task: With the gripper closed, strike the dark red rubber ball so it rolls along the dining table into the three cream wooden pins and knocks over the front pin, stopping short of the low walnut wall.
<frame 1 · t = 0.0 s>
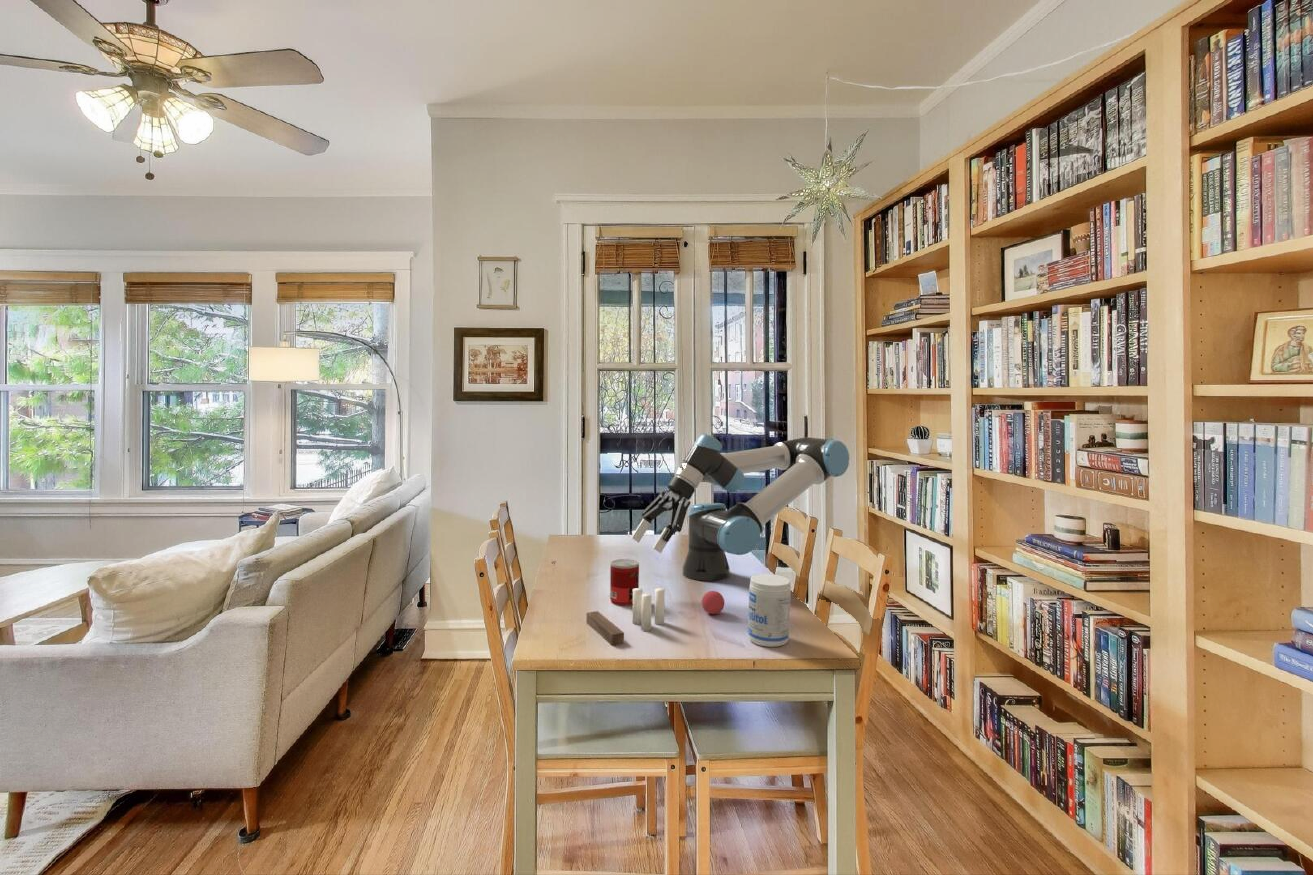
hand: (645, 545, 175), 15 cm above the table, tool tilted 35°, fingers open, 13 cm apart
back wall: (604, 632, 150), on the table
supplement tub: (768, 641, 147), on the table
front pin: (659, 622, 157), on the table
left rear pin: (646, 629, 153), on the table
right rear pin: (637, 622, 157), on the table
canned food: (624, 601, 173), on the table
ball: (713, 602, 164), on the table
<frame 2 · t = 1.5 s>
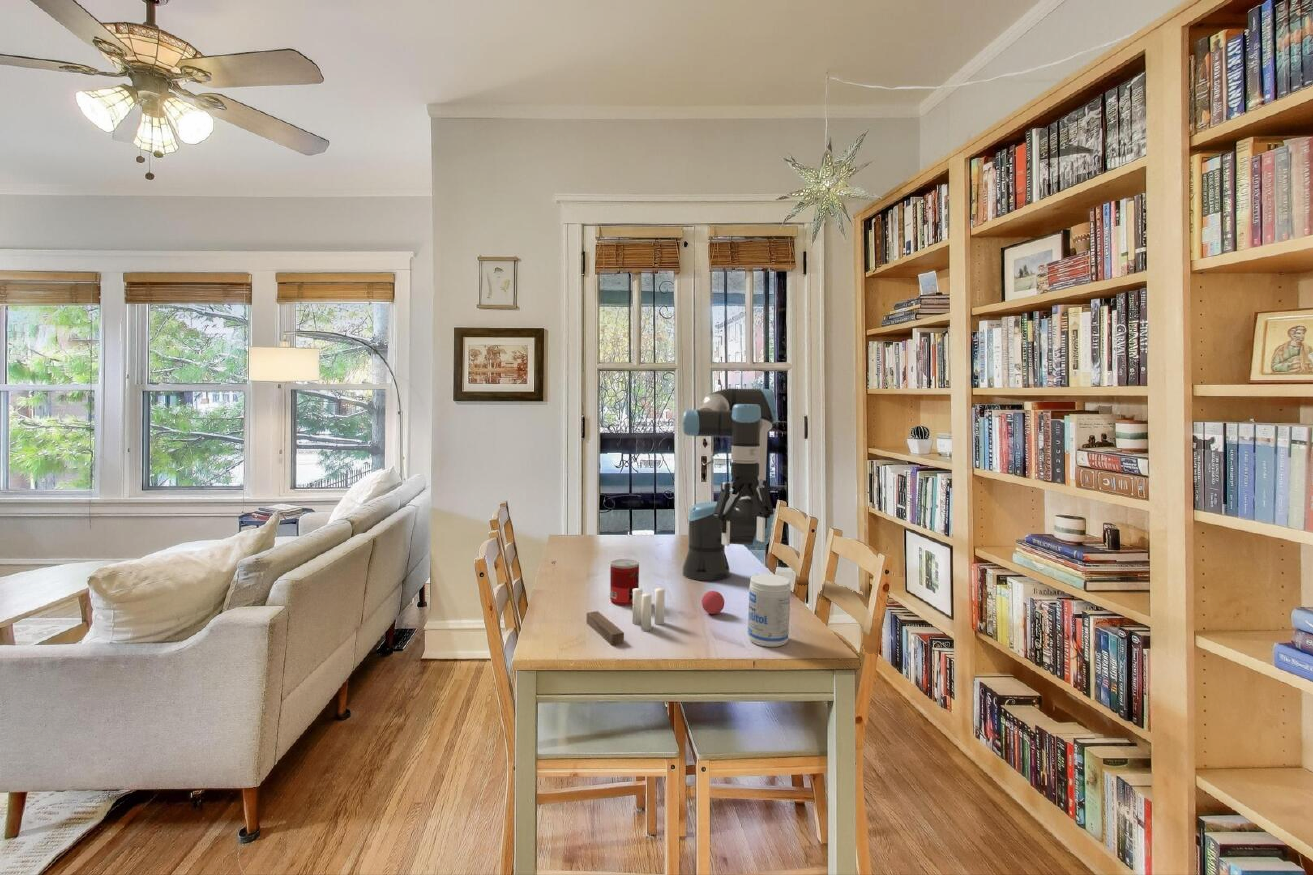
hand: (743, 542, 168), 18 cm above the table, tool pointing down, fingers open, 11 cm apart
nothing on the table moved.
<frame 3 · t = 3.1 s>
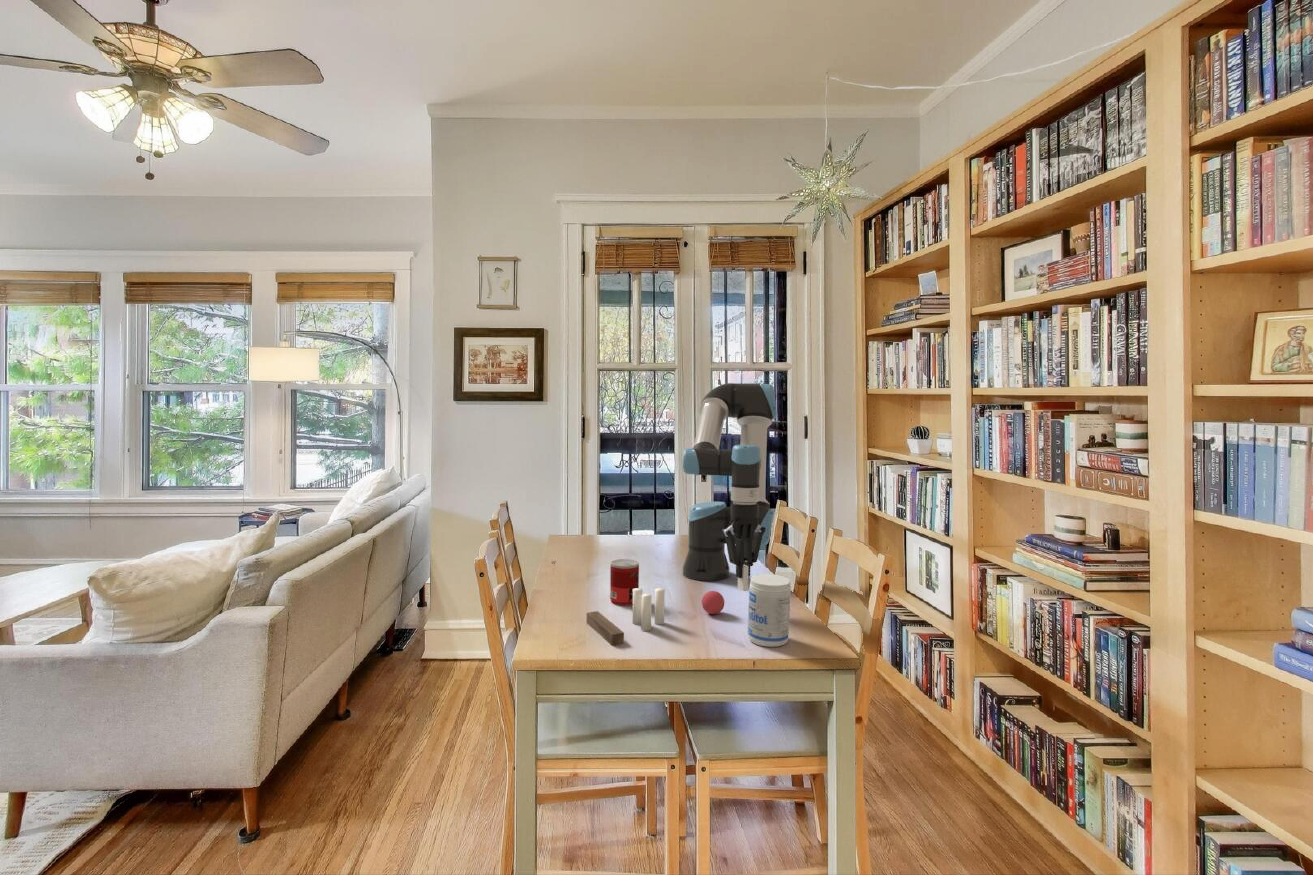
hand: (742, 589, 168), 5 cm above the table, tool pointing down, fingers closed
nothing on the table moved.
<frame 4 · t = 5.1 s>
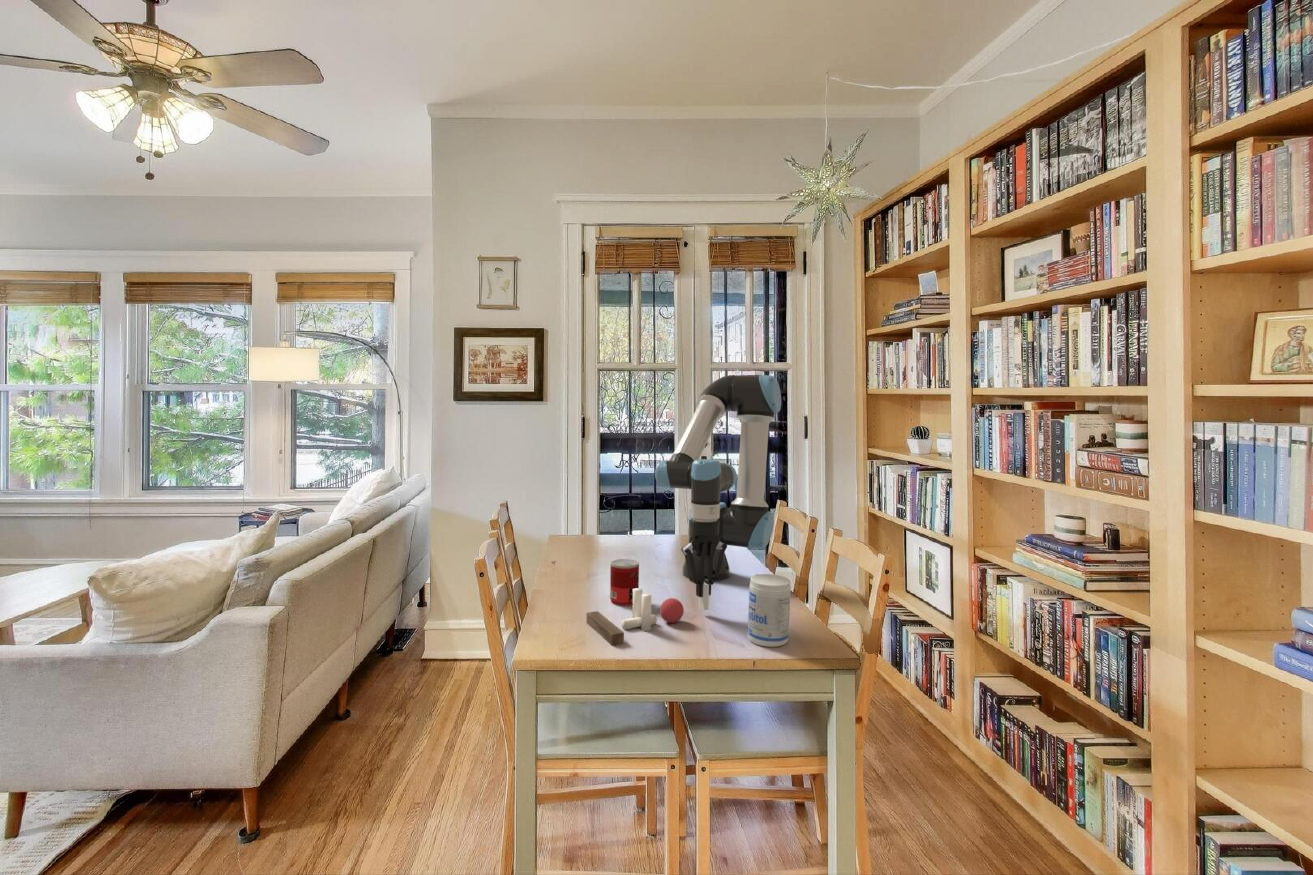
hand: (703, 608, 163), 2 cm above the table, tool pointing down, fingers closed
front pin: (654, 619, 156), point 1 cm above the table, tilted 90°
ball: (671, 610, 158), on the table
everything else where it was.
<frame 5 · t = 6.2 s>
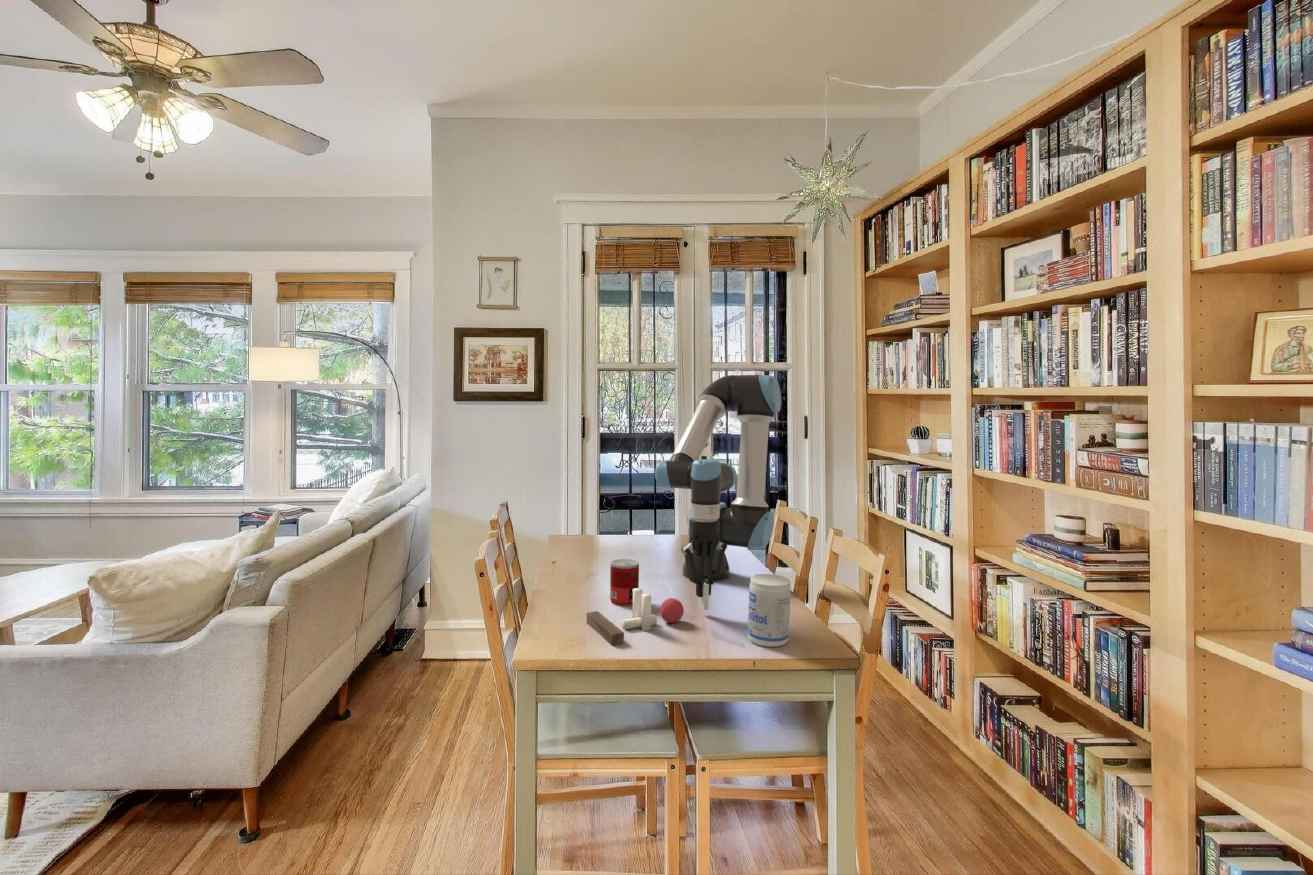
hand: (703, 608, 163), 2 cm above the table, tool pointing down, fingers closed
nothing on the table moved.
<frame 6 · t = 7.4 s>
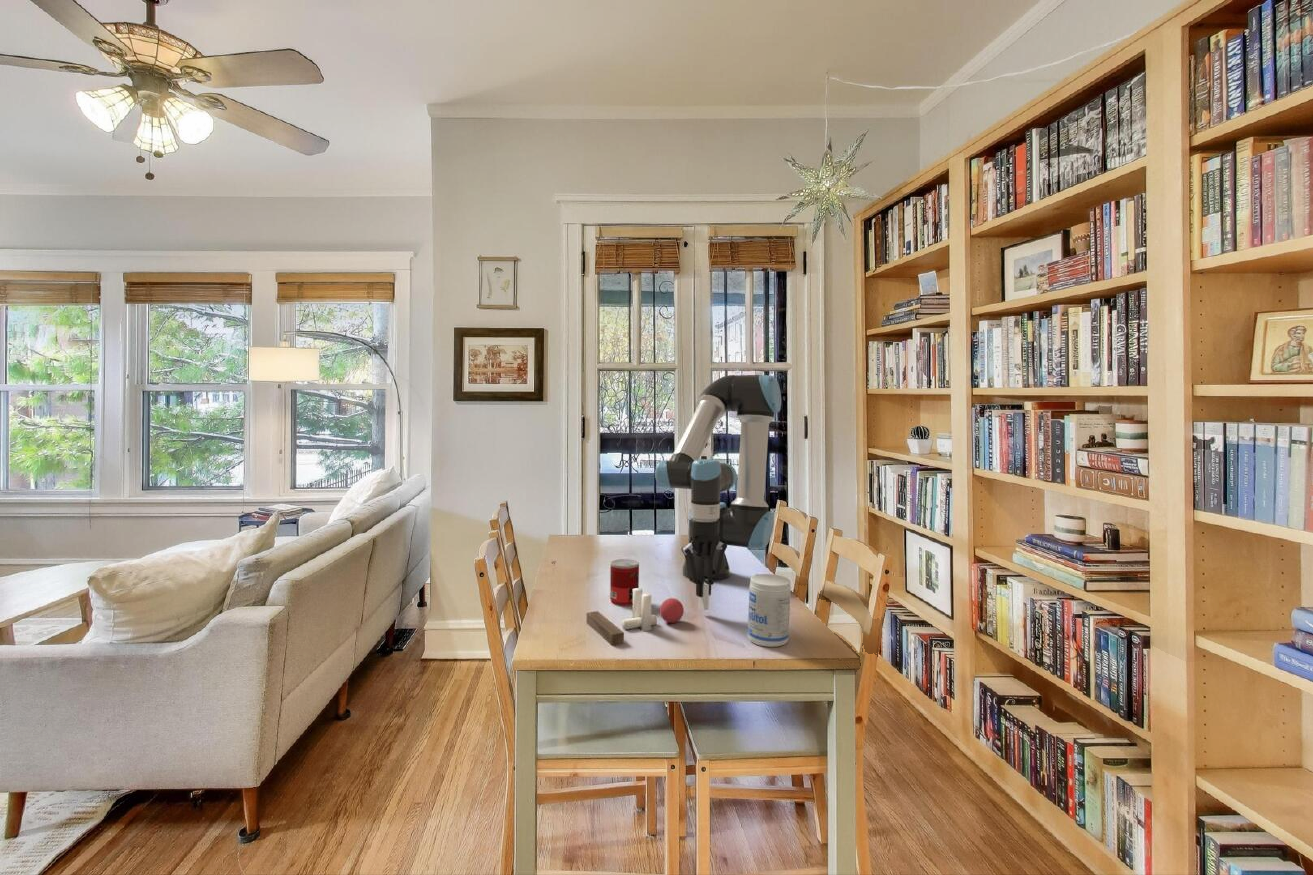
hand: (703, 608, 163), 2 cm above the table, tool pointing down, fingers closed
nothing on the table moved.
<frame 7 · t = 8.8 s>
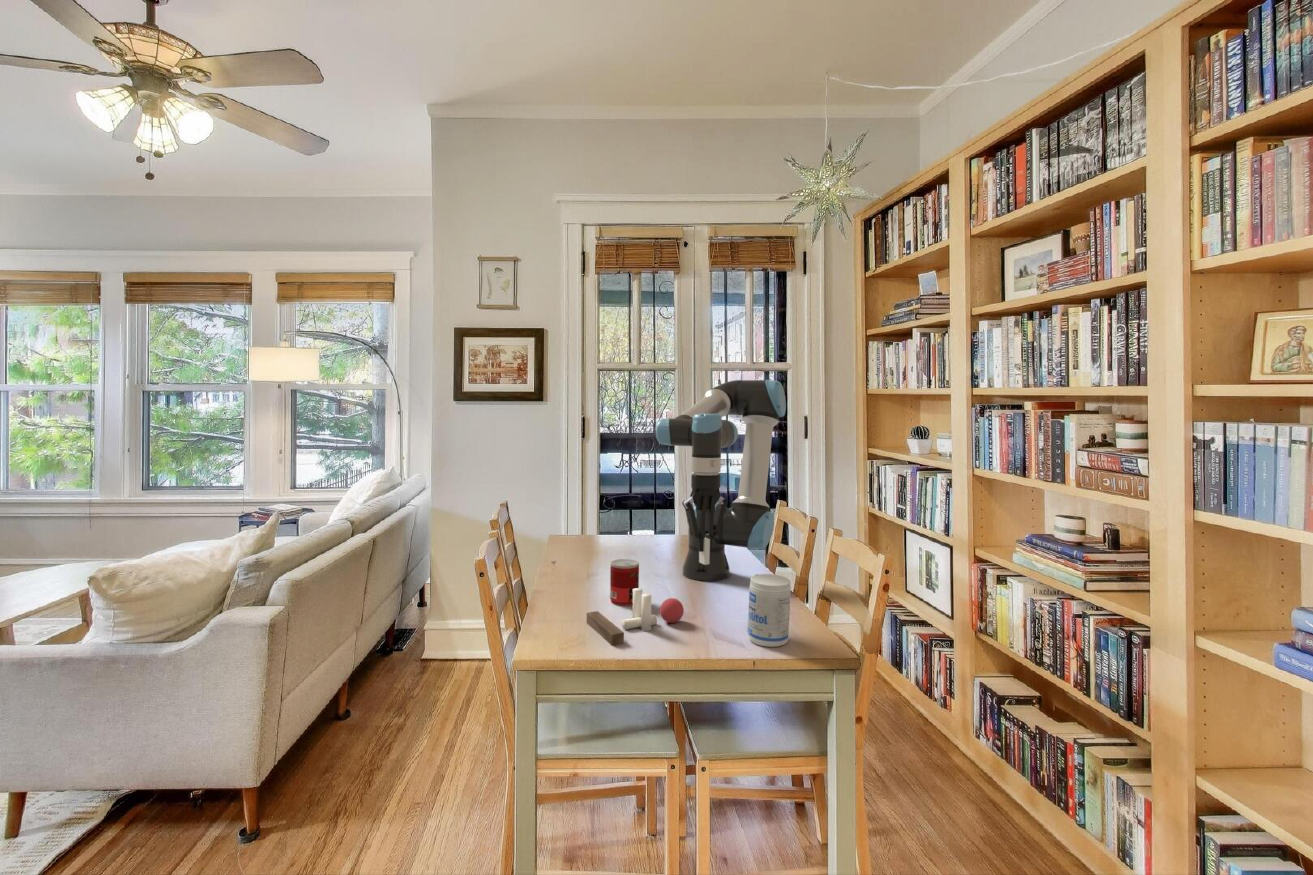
hand: (704, 563, 162), 14 cm above the table, tool pointing down, fingers closed
nothing on the table moved.
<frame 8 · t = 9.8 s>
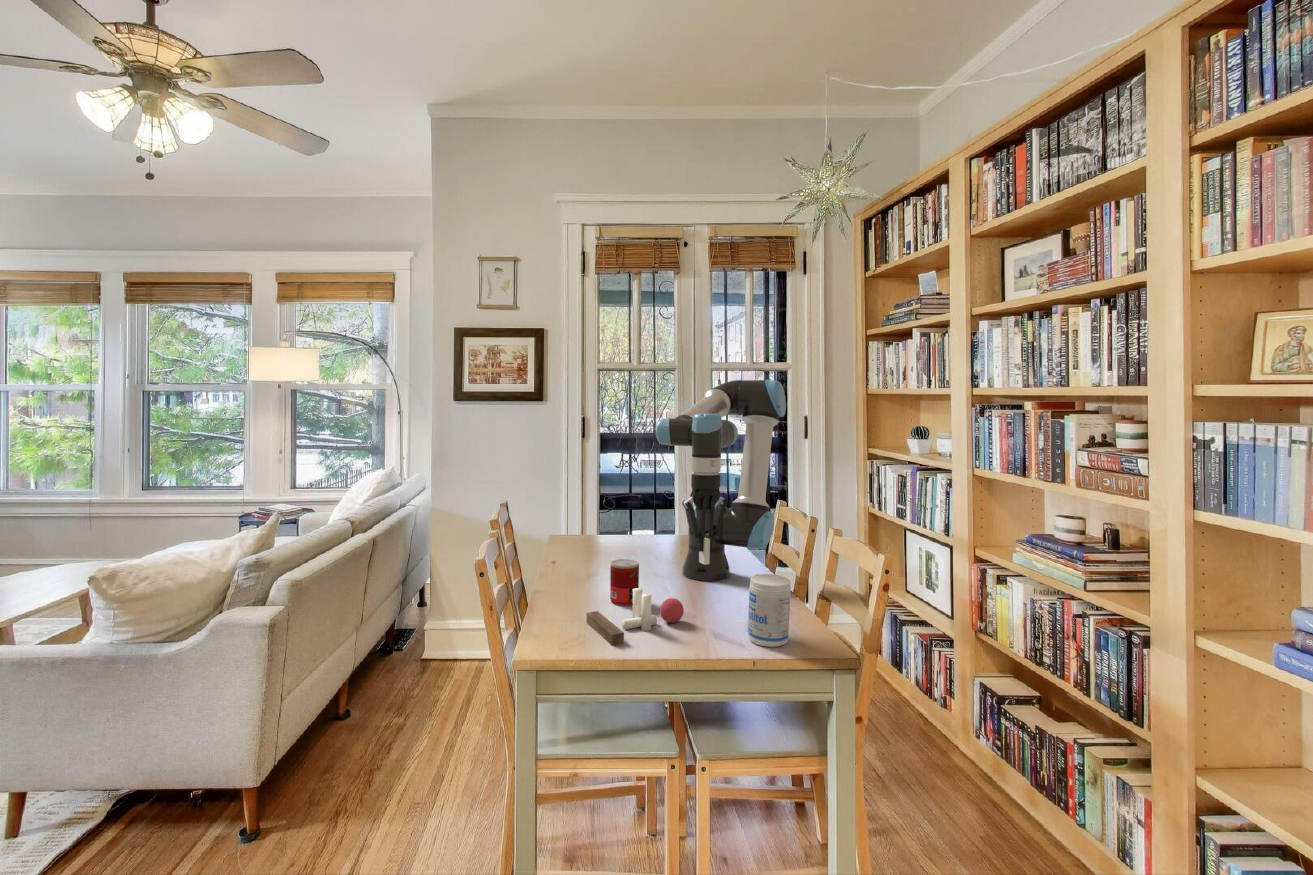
hand: (704, 563, 162), 14 cm above the table, tool pointing down, fingers closed
nothing on the table moved.
at the end: front pin tilted 90°; front pin never touched the robot; ball moved 12.9 cm from its start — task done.
